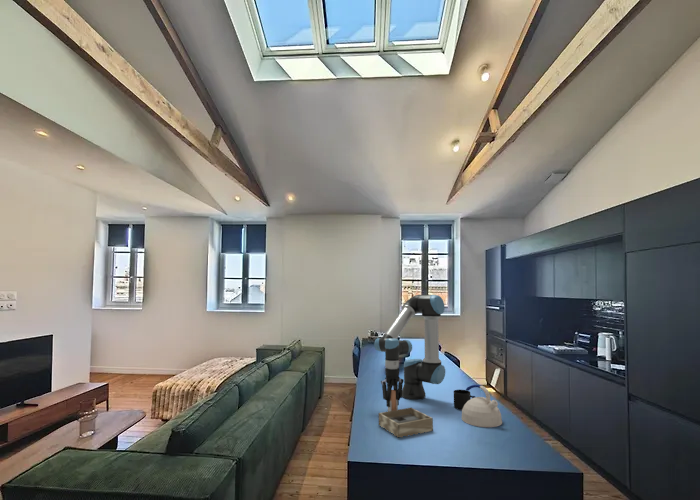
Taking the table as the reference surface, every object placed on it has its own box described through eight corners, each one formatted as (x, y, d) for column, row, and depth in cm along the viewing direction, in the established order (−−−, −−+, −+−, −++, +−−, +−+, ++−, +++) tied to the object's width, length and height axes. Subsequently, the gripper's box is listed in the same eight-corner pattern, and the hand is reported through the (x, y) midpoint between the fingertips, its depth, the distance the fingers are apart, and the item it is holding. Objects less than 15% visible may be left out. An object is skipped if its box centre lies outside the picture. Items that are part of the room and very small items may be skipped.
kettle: (482, 430, 185) (481, 392, 187) (453, 417, 204) (452, 383, 206) (511, 423, 195) (510, 387, 197) (480, 412, 213) (479, 379, 215)
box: (378, 425, 192) (378, 413, 193) (411, 419, 201) (411, 407, 202) (398, 438, 176) (398, 424, 177) (432, 430, 185) (432, 417, 186)
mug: (476, 411, 215) (476, 394, 215) (454, 409, 217) (454, 393, 218) (474, 405, 224) (473, 390, 225) (453, 404, 226) (452, 389, 227)
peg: (388, 416, 205) (388, 390, 206) (393, 415, 207) (393, 389, 208) (391, 418, 202) (391, 391, 203) (397, 417, 204) (396, 390, 205)
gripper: (383, 370, 200) (383, 416, 198) (408, 367, 207) (409, 412, 205) (375, 367, 207) (376, 412, 204) (400, 365, 214) (401, 408, 212)
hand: (392, 412), depth 205 cm, fingers closed on peg, 3 cm apart
